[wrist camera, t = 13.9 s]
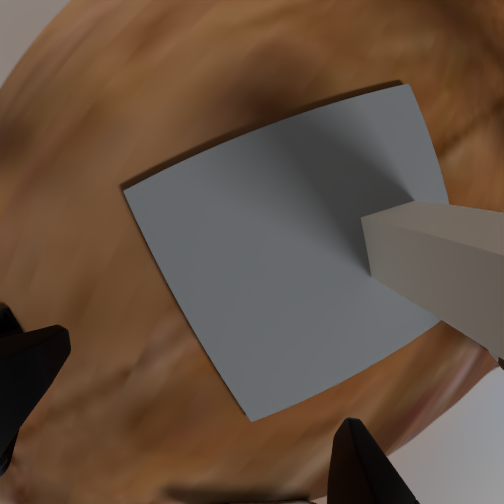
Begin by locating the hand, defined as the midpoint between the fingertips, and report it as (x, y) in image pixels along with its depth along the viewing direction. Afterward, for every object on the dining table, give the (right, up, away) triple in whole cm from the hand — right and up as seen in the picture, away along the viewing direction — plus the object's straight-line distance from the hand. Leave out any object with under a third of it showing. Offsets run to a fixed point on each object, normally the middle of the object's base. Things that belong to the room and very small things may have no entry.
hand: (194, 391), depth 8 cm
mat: (+8, +4, +13) cm, 15 cm away
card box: (+12, +5, +13) cm, 18 cm away
